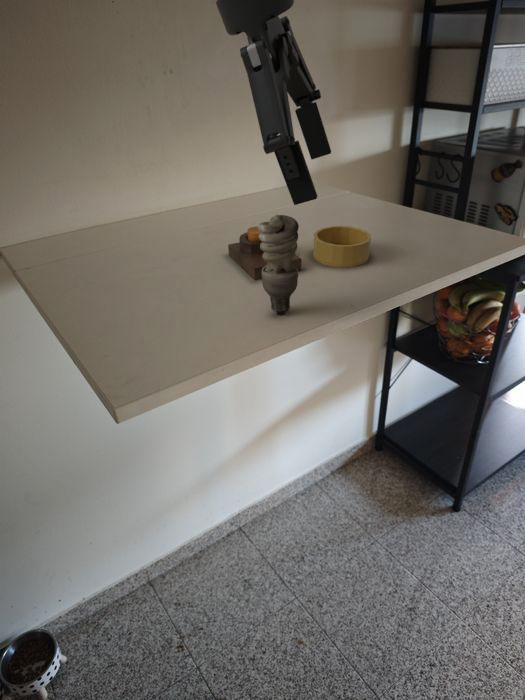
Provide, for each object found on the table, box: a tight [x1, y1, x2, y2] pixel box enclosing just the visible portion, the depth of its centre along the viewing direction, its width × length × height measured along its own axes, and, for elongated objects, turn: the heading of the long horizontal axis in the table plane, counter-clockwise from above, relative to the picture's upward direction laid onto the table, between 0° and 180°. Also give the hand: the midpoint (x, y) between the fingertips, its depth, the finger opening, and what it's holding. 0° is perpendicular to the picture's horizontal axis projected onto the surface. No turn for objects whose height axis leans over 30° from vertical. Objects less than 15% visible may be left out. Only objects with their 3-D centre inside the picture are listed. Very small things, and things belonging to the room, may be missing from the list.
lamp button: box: [246, 226, 261, 241], centre depth 90 cm, size 4×4×2 cm
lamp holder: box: [312, 225, 372, 268], centre depth 92 cm, size 10×10×4 cm
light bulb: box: [257, 214, 300, 316], centre depth 71 cm, size 6×6×15 cm
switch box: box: [227, 231, 302, 281], centre depth 90 cm, size 12×9×4 cm
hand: (314, 176), depth 62 cm, fingers open, 13 cm apart
